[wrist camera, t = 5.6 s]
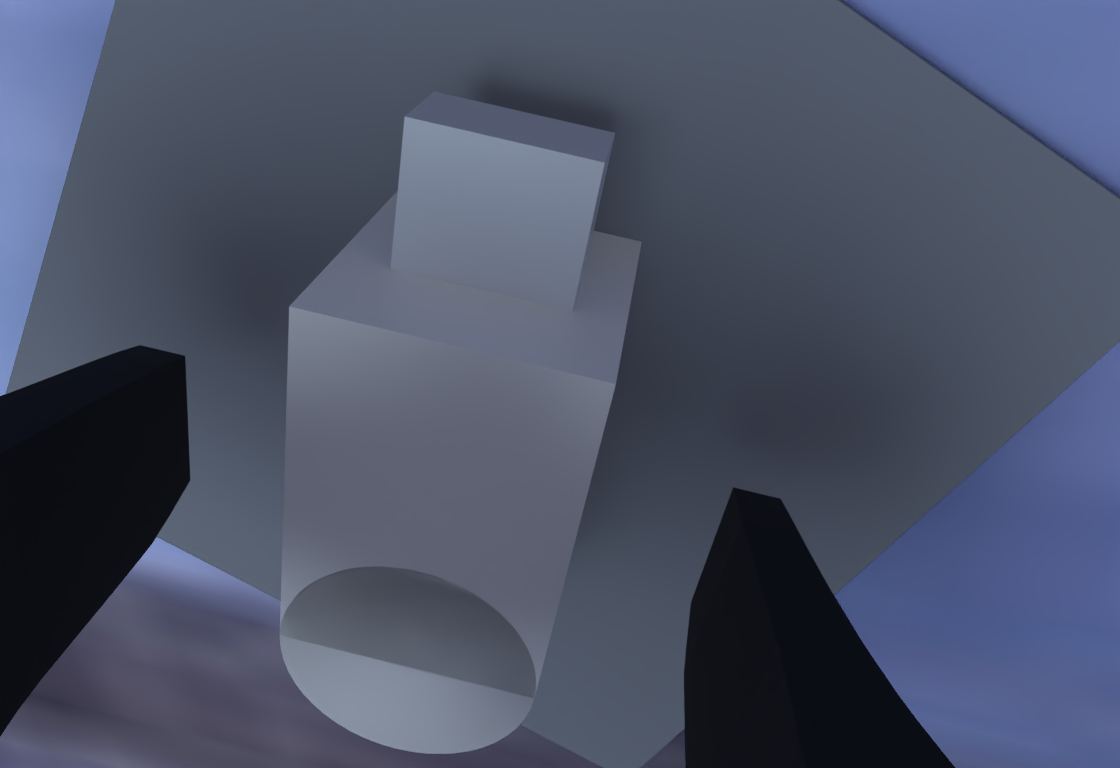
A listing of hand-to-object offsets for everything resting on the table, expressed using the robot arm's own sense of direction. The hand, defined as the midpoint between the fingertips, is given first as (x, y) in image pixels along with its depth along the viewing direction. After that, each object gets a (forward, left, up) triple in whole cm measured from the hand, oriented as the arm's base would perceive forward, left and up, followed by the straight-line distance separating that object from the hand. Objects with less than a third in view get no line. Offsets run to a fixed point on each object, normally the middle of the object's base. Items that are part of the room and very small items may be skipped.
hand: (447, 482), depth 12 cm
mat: (0, 0, -3) cm, 3 cm away
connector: (0, 0, -3) cm, 3 cm away
